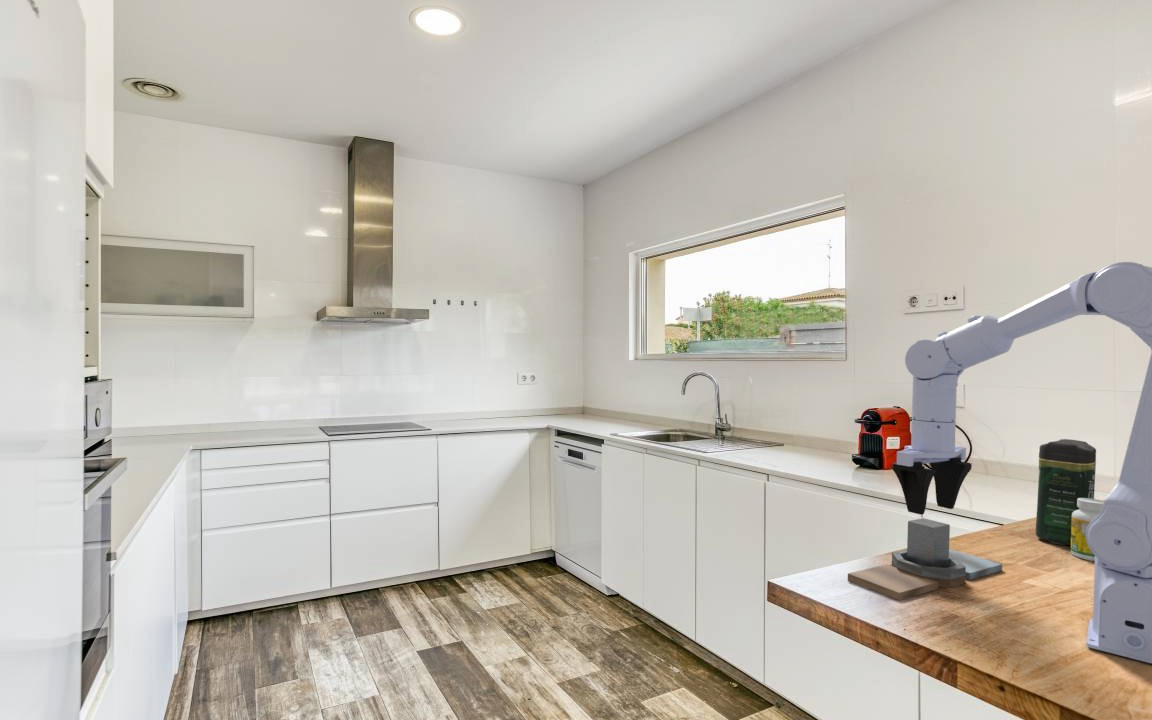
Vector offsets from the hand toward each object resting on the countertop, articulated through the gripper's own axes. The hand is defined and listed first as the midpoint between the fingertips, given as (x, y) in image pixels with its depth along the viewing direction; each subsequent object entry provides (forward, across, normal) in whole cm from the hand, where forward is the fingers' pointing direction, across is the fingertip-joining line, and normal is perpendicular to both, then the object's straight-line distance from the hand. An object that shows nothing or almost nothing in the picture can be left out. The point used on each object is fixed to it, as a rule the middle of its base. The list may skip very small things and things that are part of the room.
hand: (930, 510), depth 93 cm
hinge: (+10, 0, 0) cm, 10 cm away
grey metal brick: (+10, 0, 0) cm, 10 cm away
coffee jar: (+10, -41, 0) cm, 42 cm away
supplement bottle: (+10, -34, +7) cm, 36 cm away
